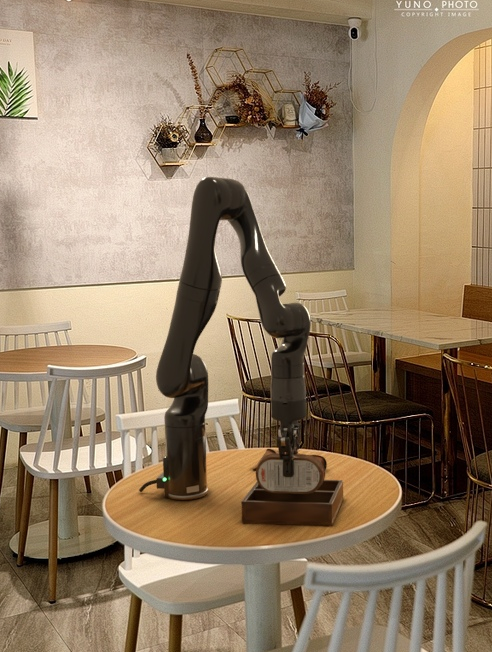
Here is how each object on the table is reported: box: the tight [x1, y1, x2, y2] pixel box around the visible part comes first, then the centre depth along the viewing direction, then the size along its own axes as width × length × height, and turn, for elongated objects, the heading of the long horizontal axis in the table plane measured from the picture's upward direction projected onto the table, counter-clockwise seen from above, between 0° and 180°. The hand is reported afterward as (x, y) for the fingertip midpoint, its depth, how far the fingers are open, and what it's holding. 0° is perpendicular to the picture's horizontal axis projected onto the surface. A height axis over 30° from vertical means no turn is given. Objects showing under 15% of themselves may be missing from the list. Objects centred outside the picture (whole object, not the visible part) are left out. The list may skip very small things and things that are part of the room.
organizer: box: [240, 479, 344, 527], centre depth 194 cm, size 20×16×5 cm
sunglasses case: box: [252, 448, 328, 471], centre depth 225 cm, size 18×7×7 cm
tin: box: [255, 453, 326, 494], centre depth 190 cm, size 15×3×8 cm, turn 84°
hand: (290, 473), depth 190 cm, fingers closed on tin, 2 cm apart
